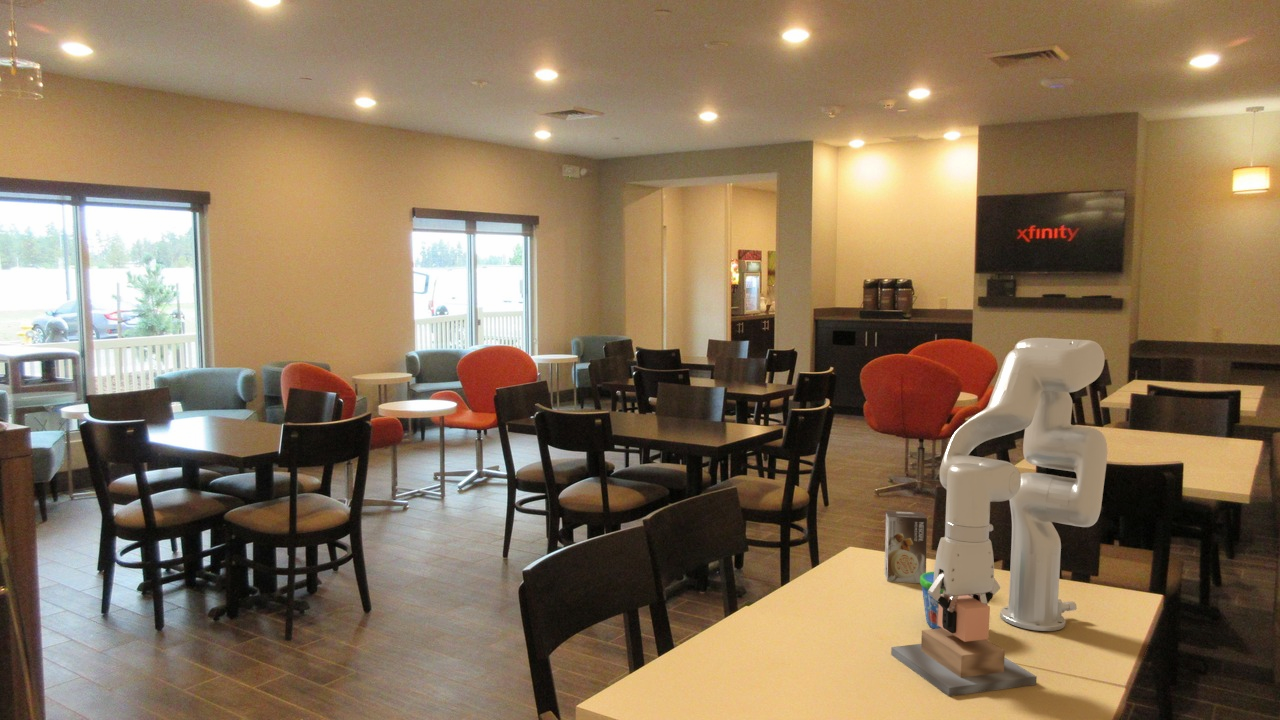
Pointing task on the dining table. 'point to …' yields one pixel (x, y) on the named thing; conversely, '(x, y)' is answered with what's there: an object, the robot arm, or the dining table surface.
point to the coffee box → (905, 546)
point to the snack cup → (930, 600)
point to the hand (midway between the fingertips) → (962, 628)
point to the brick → (969, 619)
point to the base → (957, 682)
